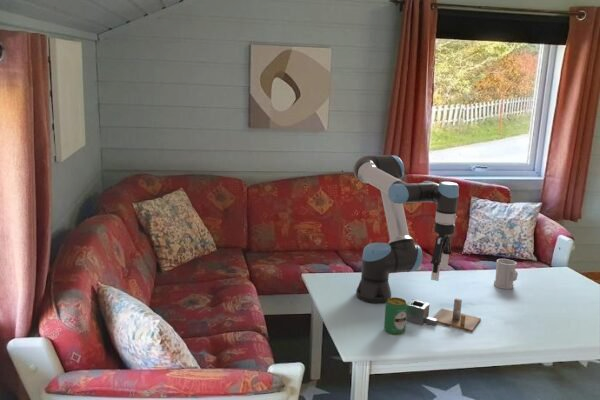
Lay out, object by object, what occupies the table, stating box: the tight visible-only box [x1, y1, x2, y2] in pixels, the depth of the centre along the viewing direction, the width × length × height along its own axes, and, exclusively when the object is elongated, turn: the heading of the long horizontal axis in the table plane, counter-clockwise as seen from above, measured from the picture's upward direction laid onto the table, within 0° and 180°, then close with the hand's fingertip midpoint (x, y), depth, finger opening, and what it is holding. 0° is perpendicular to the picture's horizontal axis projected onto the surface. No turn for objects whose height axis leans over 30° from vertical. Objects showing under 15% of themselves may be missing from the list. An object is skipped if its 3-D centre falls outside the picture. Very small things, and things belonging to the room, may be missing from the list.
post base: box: [432, 298, 482, 333], centre depth 217 cm, size 16×13×9 cm
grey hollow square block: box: [406, 298, 438, 328], centre depth 215 cm, size 11×7×7 cm, turn 58°
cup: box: [493, 258, 519, 290], centre depth 257 cm, size 10×9×12 cm
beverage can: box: [383, 297, 408, 336], centre depth 206 cm, size 8×8×12 cm
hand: (439, 274), depth 215 cm, fingers open, 13 cm apart
